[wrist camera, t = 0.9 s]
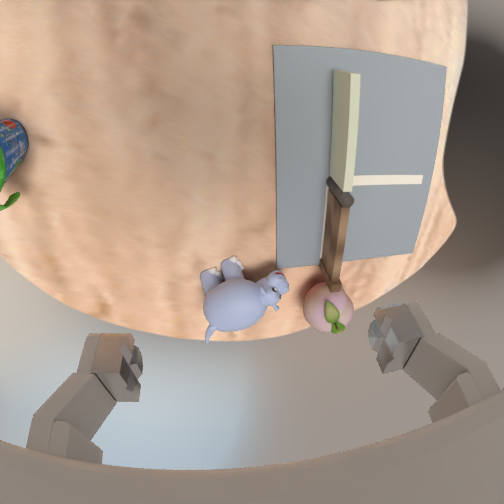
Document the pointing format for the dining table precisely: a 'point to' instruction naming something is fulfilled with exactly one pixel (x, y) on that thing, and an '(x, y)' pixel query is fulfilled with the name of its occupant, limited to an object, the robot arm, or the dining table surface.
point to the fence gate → (344, 127)
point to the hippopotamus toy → (238, 297)
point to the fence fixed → (335, 234)
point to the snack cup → (11, 153)
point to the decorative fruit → (327, 309)
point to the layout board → (367, 151)
